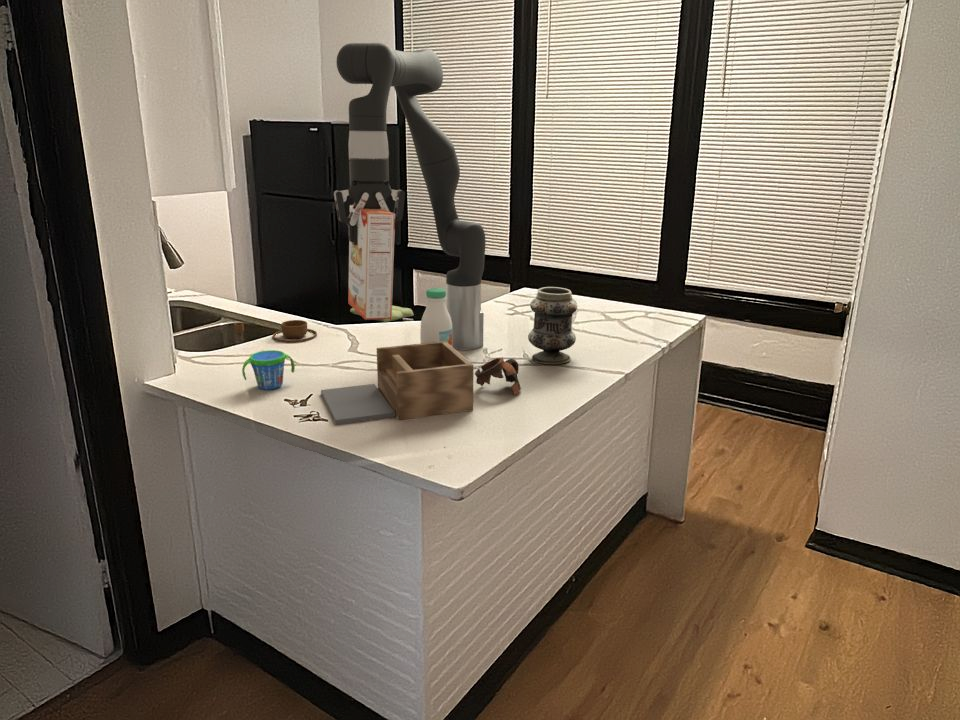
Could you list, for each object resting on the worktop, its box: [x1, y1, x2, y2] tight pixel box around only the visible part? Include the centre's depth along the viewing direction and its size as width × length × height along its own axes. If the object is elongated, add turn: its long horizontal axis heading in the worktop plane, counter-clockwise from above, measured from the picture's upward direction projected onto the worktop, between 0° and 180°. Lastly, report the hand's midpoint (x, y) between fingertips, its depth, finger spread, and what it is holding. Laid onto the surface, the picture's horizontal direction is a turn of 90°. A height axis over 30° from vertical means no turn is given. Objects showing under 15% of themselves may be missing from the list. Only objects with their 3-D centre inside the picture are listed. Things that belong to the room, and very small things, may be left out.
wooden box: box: [376, 341, 474, 421], centre depth 154 cm, size 16×18×10 cm
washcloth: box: [349, 305, 414, 323], centre depth 223 cm, size 13×18×3 cm
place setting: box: [233, 319, 318, 344], centre depth 199 cm, size 18×20×6 cm
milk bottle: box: [419, 287, 453, 347], centre depth 172 cm, size 8×8×20 cm
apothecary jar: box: [527, 286, 578, 366], centre depth 181 cm, size 12×12×18 cm
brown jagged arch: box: [474, 357, 522, 396], centre depth 162 cm, size 12×9×8 cm
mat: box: [320, 383, 396, 425], centre depth 152 cm, size 12×18×1 cm, turn 21°
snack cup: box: [241, 349, 296, 391], centre depth 162 cm, size 11×8×7 cm
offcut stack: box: [386, 355, 413, 387], centre depth 153 cm, size 4×12×9 cm, turn 21°
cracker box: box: [347, 204, 396, 321], centre depth 144 cm, size 14×6×21 cm, turn 23°
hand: (371, 243), depth 143 cm, fingers closed on cracker box, 6 cm apart
